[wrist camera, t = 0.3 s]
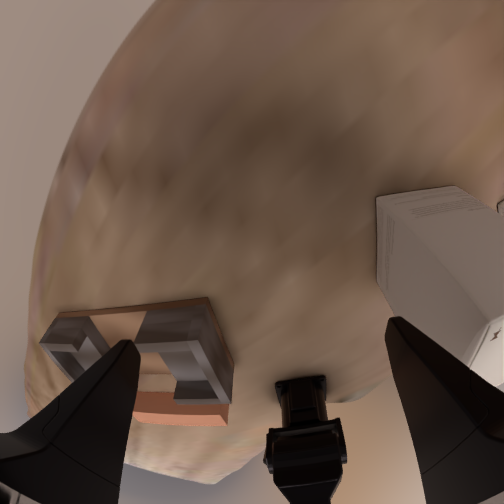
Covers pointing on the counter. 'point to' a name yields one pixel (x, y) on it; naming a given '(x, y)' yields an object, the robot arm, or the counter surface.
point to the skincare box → (501, 208)
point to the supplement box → (446, 272)
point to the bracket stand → (150, 345)
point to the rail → (177, 411)
